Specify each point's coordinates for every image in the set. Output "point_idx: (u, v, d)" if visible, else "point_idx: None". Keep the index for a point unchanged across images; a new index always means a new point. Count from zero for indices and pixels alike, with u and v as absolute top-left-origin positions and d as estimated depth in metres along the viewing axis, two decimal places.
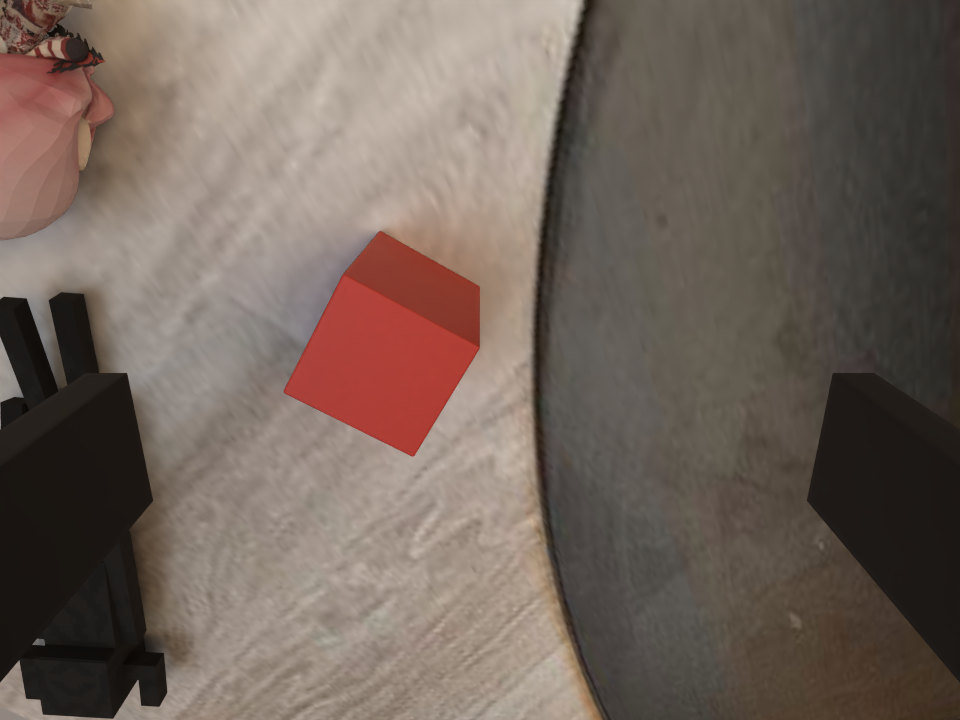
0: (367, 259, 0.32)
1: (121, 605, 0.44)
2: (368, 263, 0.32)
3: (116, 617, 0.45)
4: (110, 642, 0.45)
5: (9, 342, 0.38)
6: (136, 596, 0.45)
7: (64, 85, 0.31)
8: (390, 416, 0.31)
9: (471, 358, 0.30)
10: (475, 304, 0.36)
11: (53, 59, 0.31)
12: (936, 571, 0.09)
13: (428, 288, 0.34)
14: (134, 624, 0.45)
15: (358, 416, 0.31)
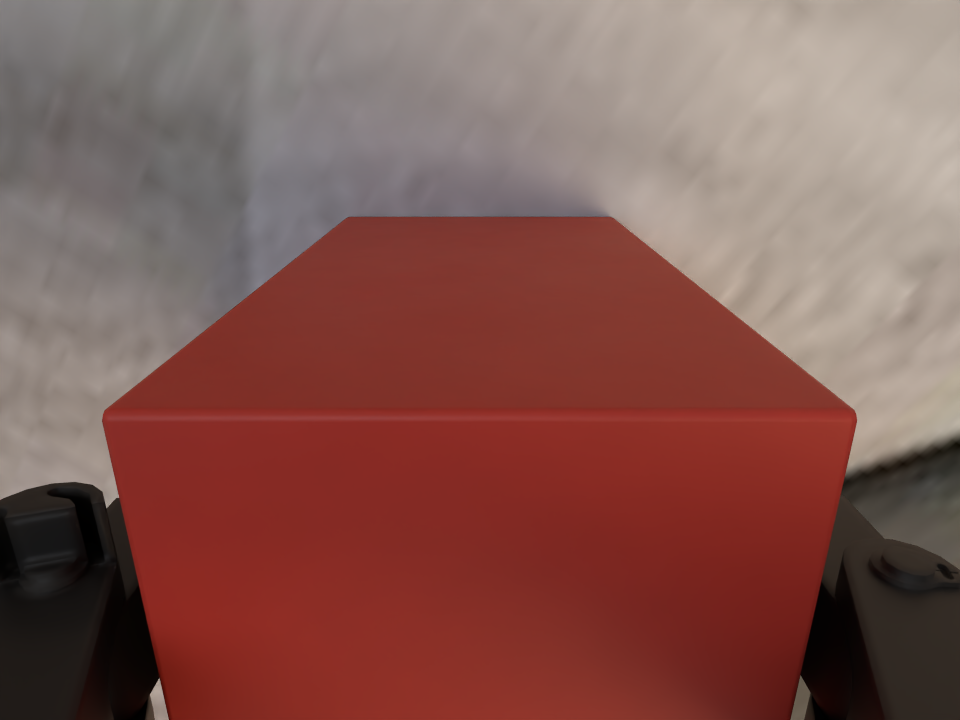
0: None
1: None
2: None
3: None
4: None
5: None
6: None
7: None
8: None
9: None
10: None
11: None
12: None
13: None
14: None
15: None
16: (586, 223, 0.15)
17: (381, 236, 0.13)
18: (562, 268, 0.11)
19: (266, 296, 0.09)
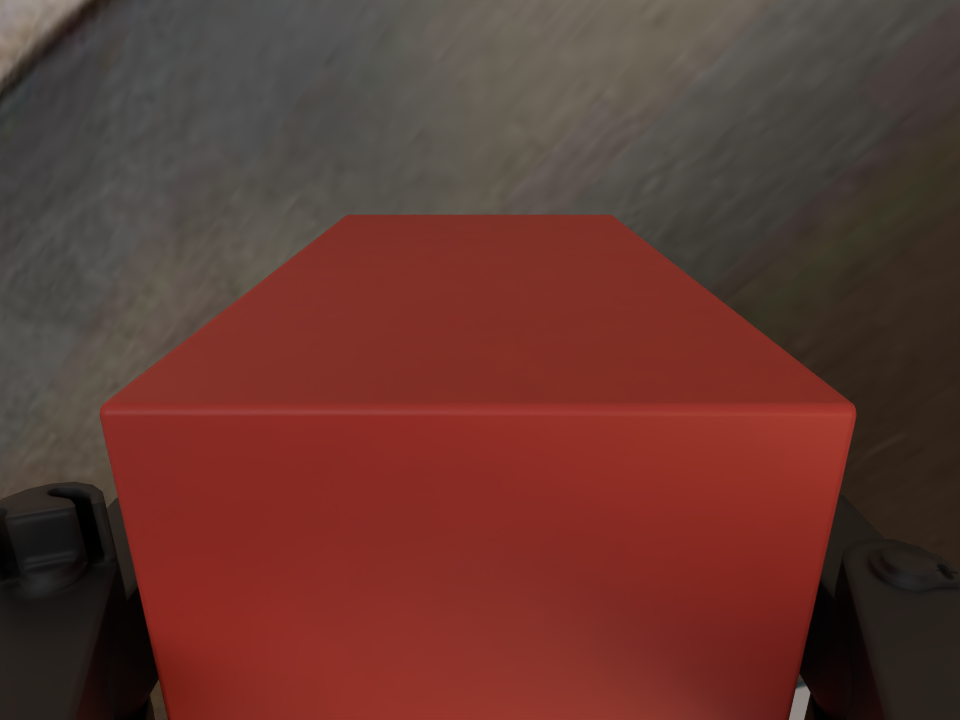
0: None
1: None
2: None
3: None
4: None
5: None
6: None
7: None
8: None
9: None
10: None
11: None
12: None
13: None
14: None
15: None
16: (585, 221, 0.15)
17: (380, 234, 0.13)
18: (561, 265, 0.11)
19: (265, 292, 0.09)
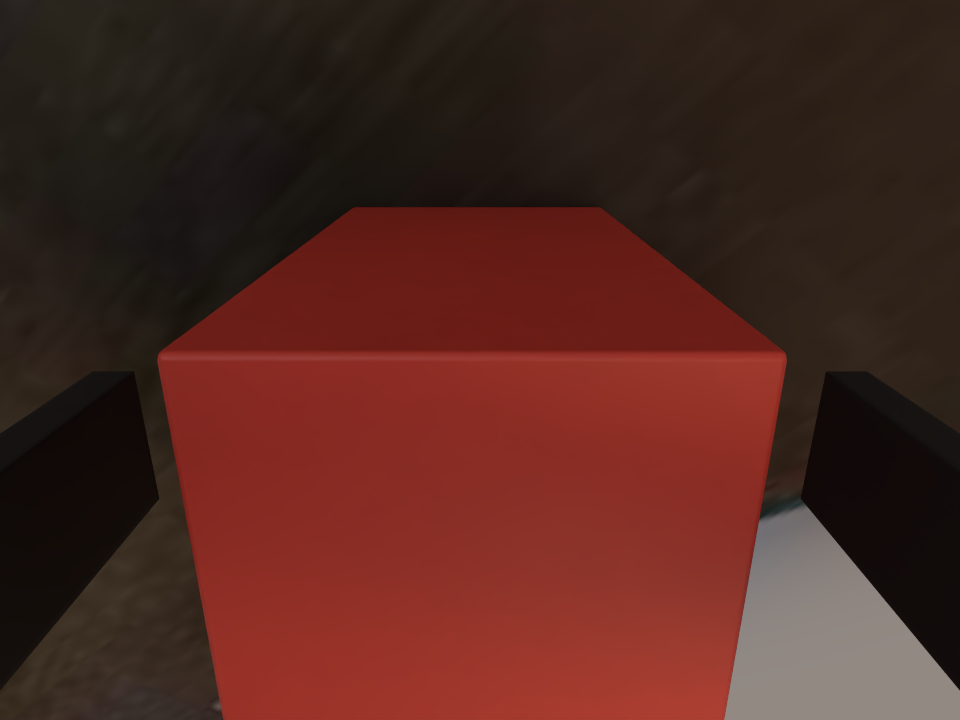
0: None
1: None
2: None
3: None
4: None
5: None
6: None
7: None
8: (331, 714, 0.08)
9: None
10: None
11: None
12: (926, 568, 0.09)
13: None
14: None
15: (259, 634, 0.08)
16: (575, 212, 0.16)
17: (385, 223, 0.15)
18: (550, 249, 0.12)
19: (285, 270, 0.10)
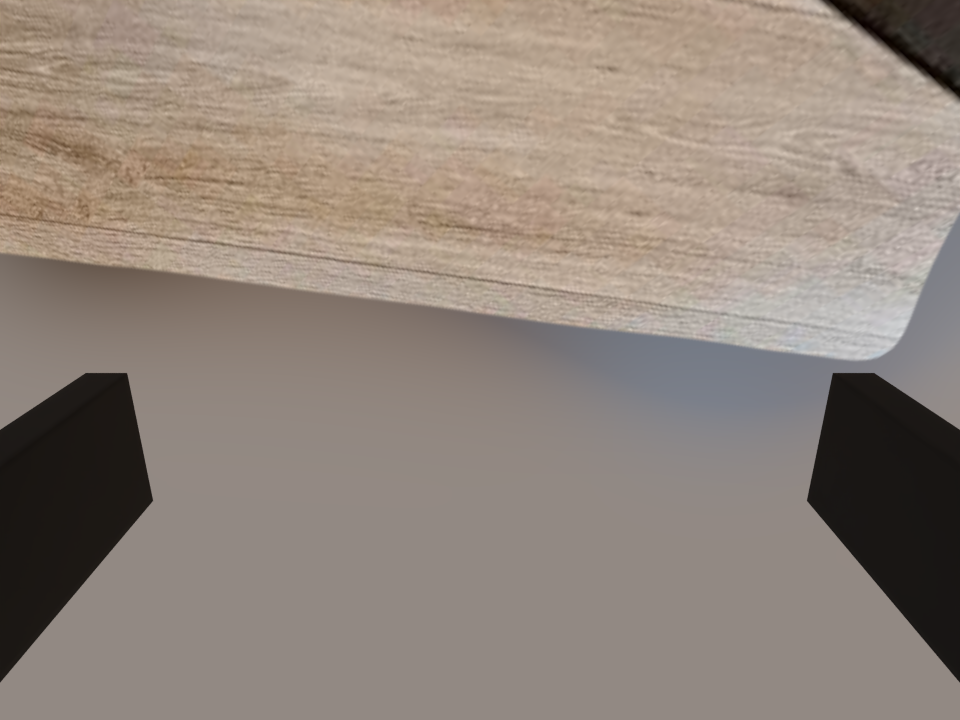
0: None
1: None
2: None
3: None
4: None
5: None
6: None
7: None
8: None
9: None
10: None
11: None
12: (936, 571, 0.09)
13: None
14: None
15: None
16: None
17: None
18: None
19: None
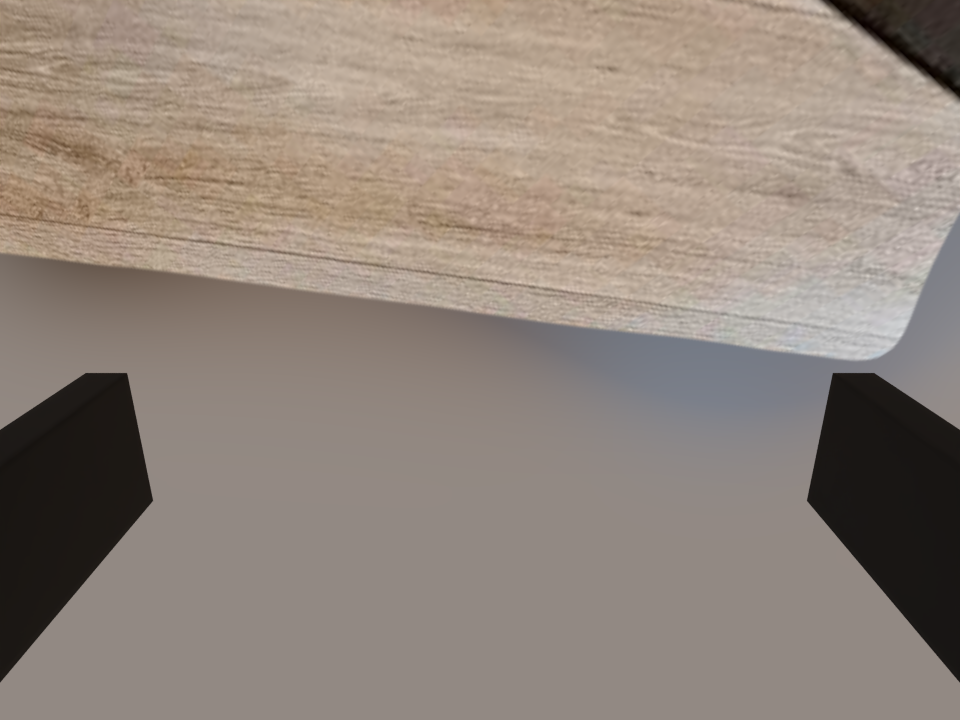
0: None
1: None
2: None
3: None
4: None
5: None
6: None
7: None
8: None
9: None
10: None
11: None
12: (936, 571, 0.09)
13: None
14: None
15: None
16: None
17: None
18: None
19: None
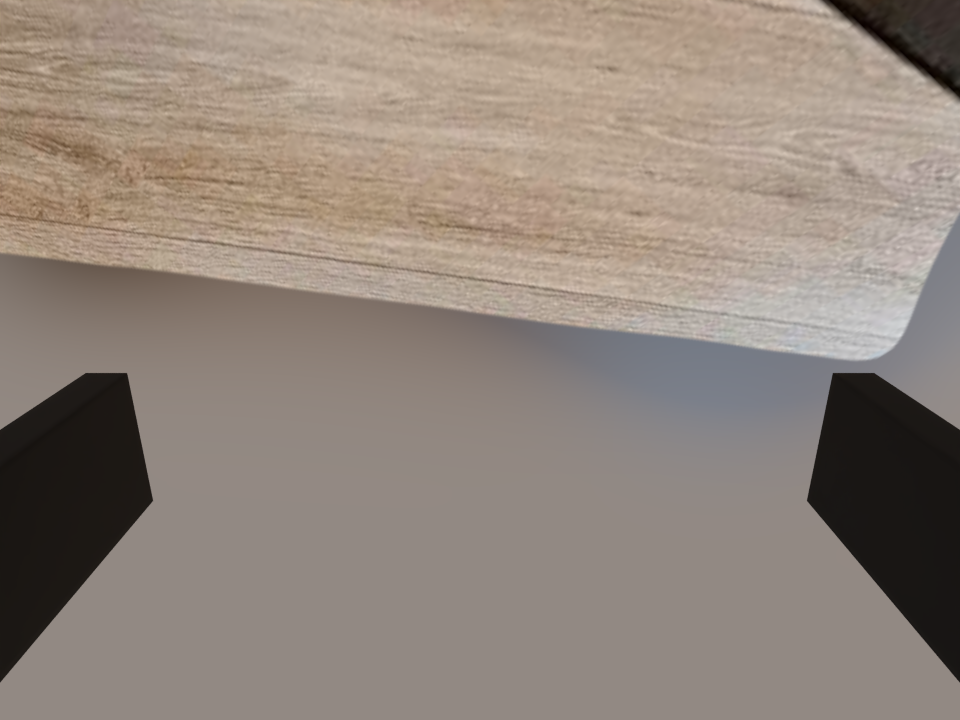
0: None
1: None
2: None
3: None
4: None
5: None
6: None
7: None
8: None
9: None
10: None
11: None
12: (936, 571, 0.09)
13: None
14: None
15: None
16: None
17: None
18: None
19: None
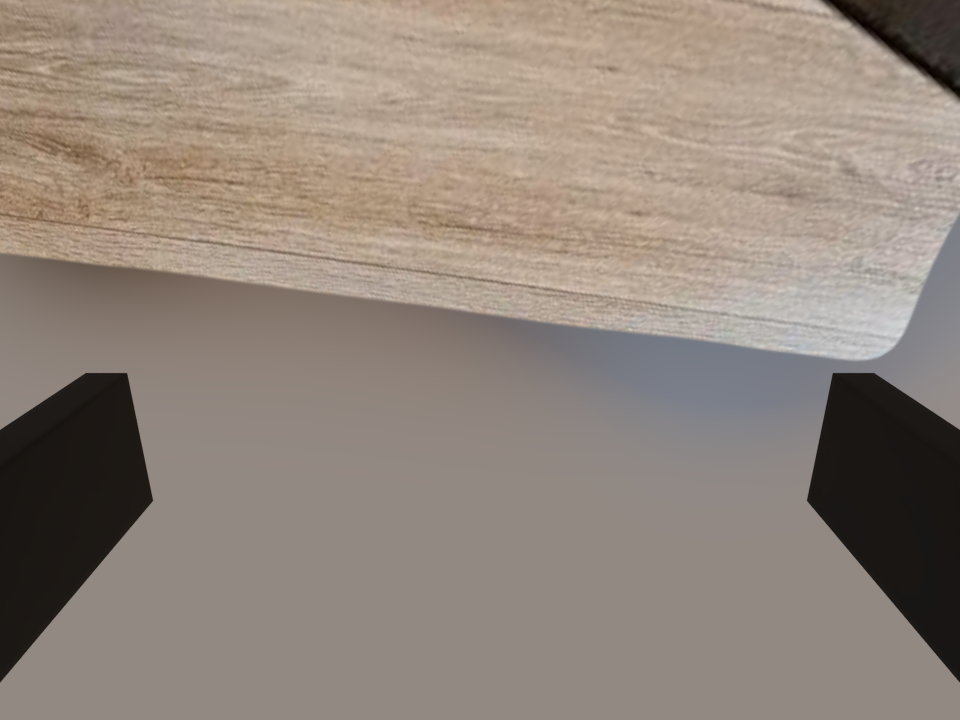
0: None
1: None
2: None
3: None
4: None
5: None
6: None
7: None
8: None
9: None
10: None
11: None
12: (936, 571, 0.09)
13: None
14: None
15: None
16: None
17: None
18: None
19: None
